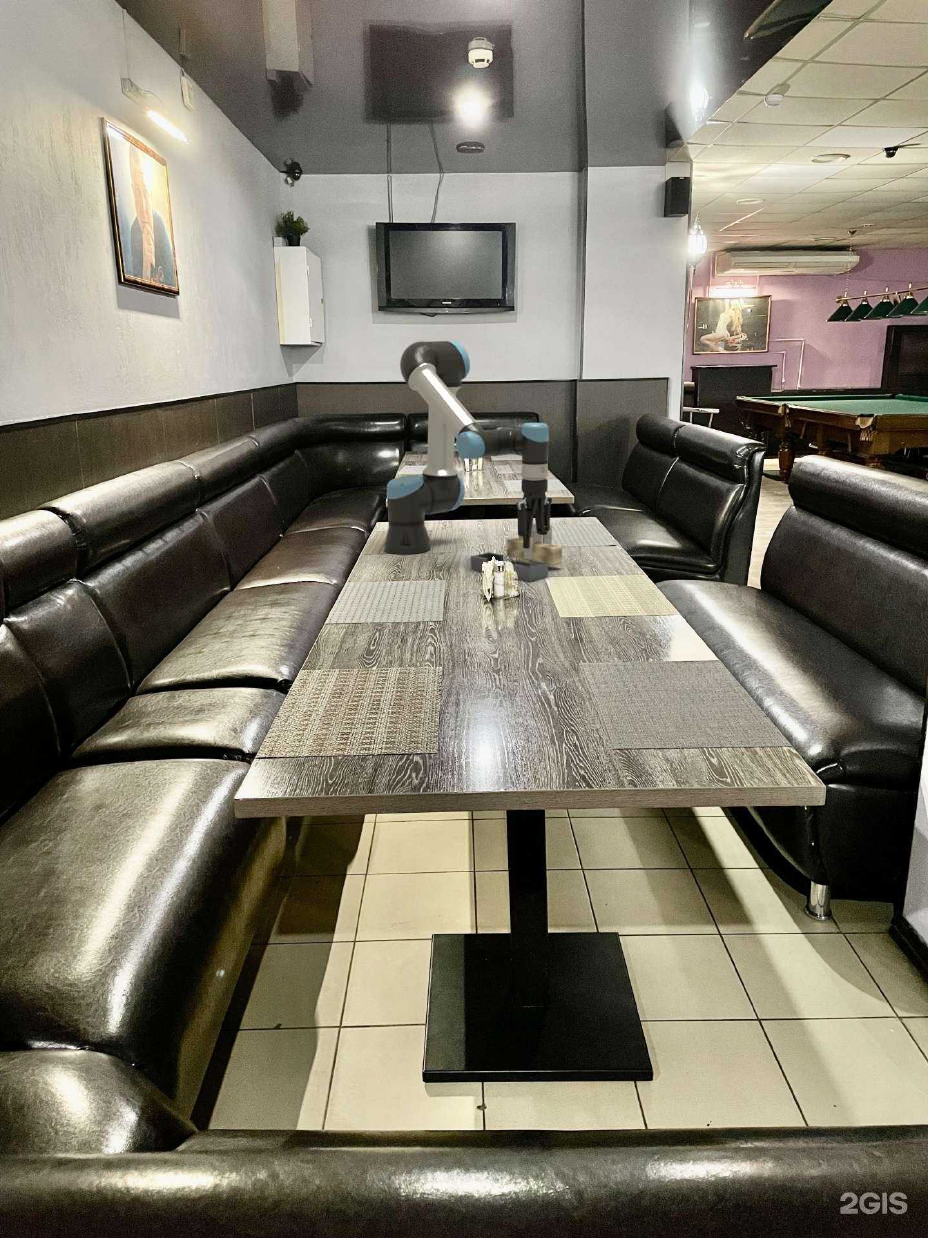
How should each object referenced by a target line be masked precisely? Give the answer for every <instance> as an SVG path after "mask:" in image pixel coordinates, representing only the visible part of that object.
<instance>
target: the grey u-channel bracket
mask: <svg viewBox="0 0 928 1238" xmlns="http://www.w3.org/2000/svg"><path fill="white" fill-rule="evenodd" d="M493 556H494V557H495V559H496V560H498V561H503V562H504V554H502V553H495V552H490V551H487V552H483V553H480V554H475V555H471V556H470V571H476V572H481V573H483V572H482V564H483V562H488V561H491V560H492V557H493Z"/></svg>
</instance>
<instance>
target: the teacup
mask: <svg viewBox="0 0 928 1238" xmlns="http://www.w3.org/2000/svg"><path fill="white" fill-rule="evenodd" d="M545 527H546V526H545ZM552 529H553V525H552V524H550V529H549V531H546V532H547V535H544V543H545V544H550V545H552V543H553V542H552V541H553V531H552ZM535 534H538V533H537V530H536V522H535V523H534V522H533V525H532V531H531V537H532V538H533V541H535ZM518 538H520V539H523V537H522V536H519V535H518Z"/></svg>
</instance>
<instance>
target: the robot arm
mask: <svg viewBox="0 0 928 1238" xmlns="http://www.w3.org/2000/svg"><path fill="white" fill-rule="evenodd" d="M399 366H400V369H399V370H400V373H401V377H402V379H403V381H404V382H405V384H406V385H407V386H408V387H409V388H410V389H411V390H412V391H416V392H418V394H419V395H420V396H421V397H422V398H423V399H424V401H425V402H426V403H427V405H428V422H427V423H428V427H427V464H426V465H427V466H426V467H425V468H424V469H422V475H418V474H417V475H416V474H410V475H403V476H398V477H395V478H393V479H391V480H389V481H388V483H387V485H386V498H387V499H386V501H387V518H388V519H387V520H388V522H387V523H388V529H387V533H386V537H385V540H384V543H383V544H384V545H383V547H384V549H383V550H384V551H385V552H386V553H389V554H393V555H415V554H421V553H425V552H428V551H430V550H431V549H432V542H431V539H430V537H429V534H428V531H427V529H426V526H425V524H426V522H425V515H426V516H427V515H433V514H439V513H448V512H449V511H454V510H456V509H458V508H459V507H460V506H461V505H462V503H463V502H464V498H465V491H466V490H465V484H464V481H463V479H462V478H461V477H460V476H459V473H458V472H459V471H458V470H457V469H456V468H455V466H454V465H455V464H454V462H455V447H456V450H457V453H458V455H459V456H460V457H461V458H463V459H465V460H466V459H467V460H478V459H482V458H489V457H498V456H501V457H502V456H506V455H507V456H509V455H510V456H511V455H513V456H514V455H515V456H520V457H521V477H522V479H521V492H523V497H522V500H521V501H520V502H518V501H517V502H516V503H515V507H516V511H517V536H518V537H519V536H522V537H523V548H524V558H525V559H529V560H532V553H533V538H532V537H531V531H532V525H533V524H534V522H535V523H536V530H537V533H538V534H535V542H540V543H544V535H547V532H546V531H549V529H550V525H551V524H550V523H551V505H552V502H553V498H552V497H547V496H546V495H547V494H546V493H547V492H548V490H549V489H548V487H549V486H548V485H549V484H548V482H549V481H548V479H547V477H548V475H549V474H548V472H549V468H548V467H549V466H548V465H549V443H550V437H549V436H550V432H549V425H548V424H546V423H545V422H525V423H523V424H522V426H521V428H515V427H514V428H513V427H510V426H506V427H505V426H504V427H503V426H502V427H497V428H496V429H486V430H485V429H483V428H482V426H481V425H480V424H479V422H477V421H476V420H475V418H474V417H473V416H472V414H471V413H470V412H469V411H468V410H467V408H465V406H464V405H463V404H462V403H461V401H460V400H459V399H458V398H457V392H458V391H459V390H460V389H461V388H462V382H463V380H464V379H466V378H467V376H468V374H469V373H470V368H471V360H470V357H469V353H468V351H467V350H466V348H465V346H464V345H462V344H461V343H459V342H457V341H450V340H439V341H437V340H436V341H416V342H413V343H411V344H409V345H408V346H407V347H406V348H405V349H404V351H403V353H402V354H401V357H400V361H399ZM455 439H456V441H455ZM534 520H535V521H534ZM545 526H546V527H545Z"/></svg>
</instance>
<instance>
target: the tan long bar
mask: <svg viewBox="0 0 928 1238" xmlns="http://www.w3.org/2000/svg"><path fill="white" fill-rule="evenodd" d="M506 557H509V558H514V559H518V560H522V561H523V560H524V561H527V562H529V561H530V560H529V559H525V558H524V548H523V539H520V538H519V537H514V538H510V539H509V538H508V539H507V540H506ZM532 560H534V561H539V562H545V563H548V566H551V567H555V566H558V565H562V564H563V561H562V560H563V546H559V545H555V544H551V545H550V544H545V543H540V542H535V541H533V553H532Z"/></svg>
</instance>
